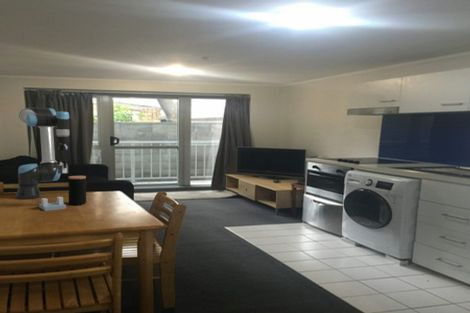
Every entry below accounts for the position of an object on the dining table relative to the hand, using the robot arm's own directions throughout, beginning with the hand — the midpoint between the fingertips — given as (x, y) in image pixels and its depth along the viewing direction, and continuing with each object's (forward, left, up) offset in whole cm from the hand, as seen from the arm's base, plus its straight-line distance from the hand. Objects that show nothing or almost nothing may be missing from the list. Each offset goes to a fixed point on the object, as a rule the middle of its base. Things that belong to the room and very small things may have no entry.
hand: (63, 172), depth 237 cm
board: (+4, -8, -21) cm, 23 cm away
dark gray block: (0, 0, 0) cm, 0 cm away
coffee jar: (+1, +8, -21) cm, 23 cm away
